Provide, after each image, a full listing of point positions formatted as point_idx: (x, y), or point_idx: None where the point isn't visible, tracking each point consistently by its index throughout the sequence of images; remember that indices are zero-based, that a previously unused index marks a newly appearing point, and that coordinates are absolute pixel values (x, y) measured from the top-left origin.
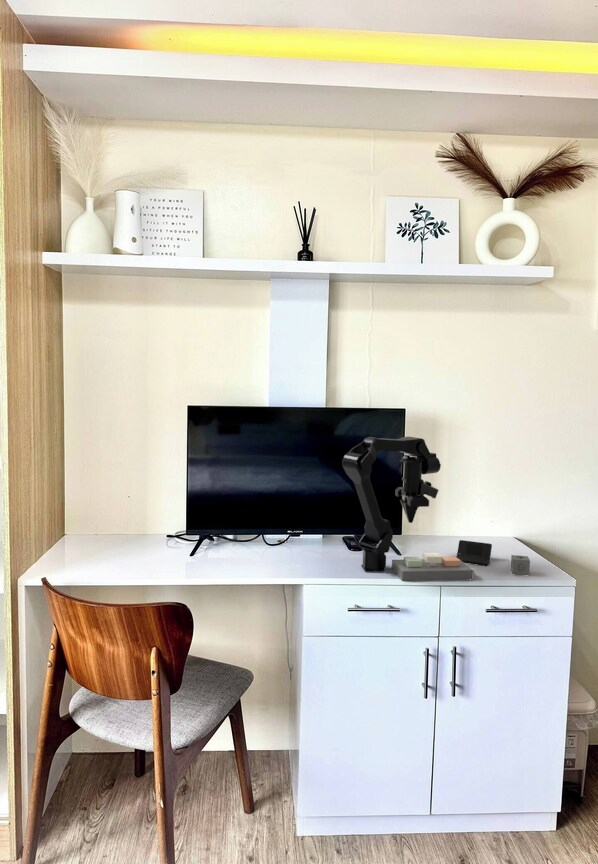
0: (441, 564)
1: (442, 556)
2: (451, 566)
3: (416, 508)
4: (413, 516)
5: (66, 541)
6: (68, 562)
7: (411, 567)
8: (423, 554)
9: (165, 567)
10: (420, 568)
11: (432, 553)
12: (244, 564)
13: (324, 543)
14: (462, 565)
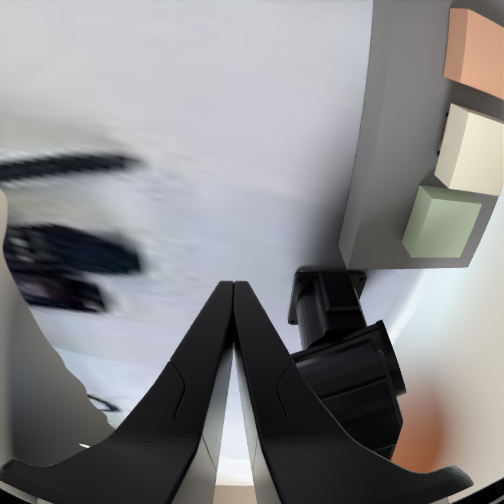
0: (466, 91)
1: (462, 75)
2: None
3: (339, 438)
4: (274, 338)
5: None
6: (229, 481)
7: None
8: (458, 187)
9: None
10: None
11: (474, 145)
12: (244, 437)
13: (62, 345)
14: (490, 11)
